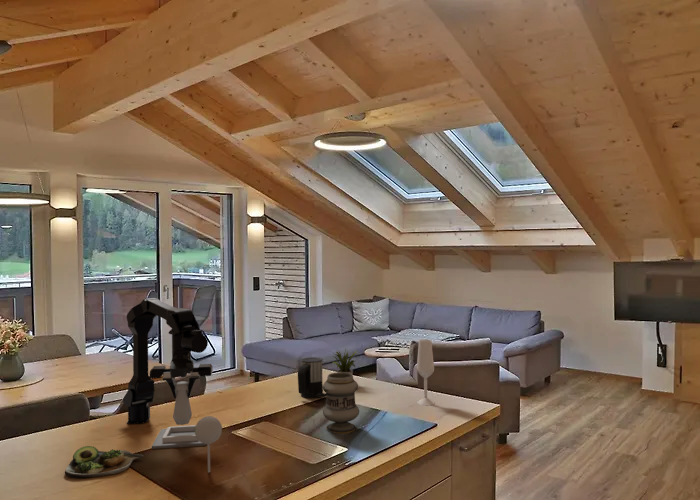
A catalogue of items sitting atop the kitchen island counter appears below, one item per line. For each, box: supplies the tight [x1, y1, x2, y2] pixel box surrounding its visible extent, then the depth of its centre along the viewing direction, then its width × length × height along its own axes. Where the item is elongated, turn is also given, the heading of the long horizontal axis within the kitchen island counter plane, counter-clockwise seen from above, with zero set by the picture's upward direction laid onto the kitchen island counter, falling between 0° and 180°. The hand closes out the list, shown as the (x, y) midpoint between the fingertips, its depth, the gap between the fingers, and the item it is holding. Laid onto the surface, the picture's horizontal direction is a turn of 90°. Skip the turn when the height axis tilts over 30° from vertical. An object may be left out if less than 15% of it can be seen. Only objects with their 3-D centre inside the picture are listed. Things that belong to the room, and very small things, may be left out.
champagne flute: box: [416, 338, 435, 406], centre depth 215 cm, size 7×7×24 cm
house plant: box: [329, 348, 358, 375], centre depth 244 cm, size 14×14×16 cm
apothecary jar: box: [322, 371, 360, 434], centre depth 186 cm, size 12×12×18 cm
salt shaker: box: [172, 380, 193, 426], centre depth 179 cm, size 6×6×13 cm
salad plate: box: [64, 445, 144, 479], centre depth 158 cm, size 19×18×5 cm
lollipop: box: [195, 415, 223, 473], centre depth 152 cm, size 7×7×15 cm
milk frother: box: [297, 356, 326, 399], centre depth 225 cm, size 14×16×15 cm
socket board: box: [151, 424, 207, 450], centre depth 179 cm, size 16×16×2 cm
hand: (182, 397), depth 179 cm, fingers closed on salt shaker, 4 cm apart
